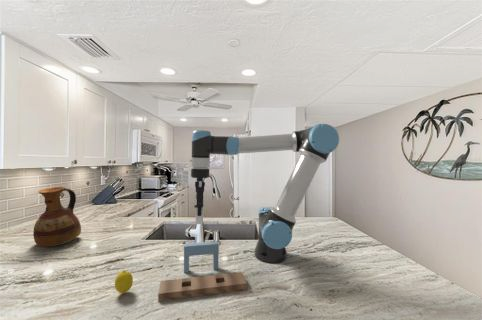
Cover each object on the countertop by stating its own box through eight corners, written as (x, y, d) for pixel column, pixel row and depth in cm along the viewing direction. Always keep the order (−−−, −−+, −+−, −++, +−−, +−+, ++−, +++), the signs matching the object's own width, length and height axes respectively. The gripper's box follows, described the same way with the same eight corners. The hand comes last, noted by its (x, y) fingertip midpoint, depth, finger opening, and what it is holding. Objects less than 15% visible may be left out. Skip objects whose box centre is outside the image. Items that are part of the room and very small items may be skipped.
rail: (241, 278, 92) (241, 272, 92) (246, 290, 84) (247, 283, 84) (160, 287, 85) (160, 280, 85) (158, 301, 77) (158, 293, 77)
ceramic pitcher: (25, 246, 121) (24, 188, 120) (66, 234, 139) (66, 183, 139) (48, 252, 113) (47, 190, 113) (89, 238, 132) (88, 185, 131)
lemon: (119, 289, 84) (119, 267, 84) (135, 288, 84) (135, 266, 84) (111, 298, 78) (111, 275, 78) (129, 298, 79) (129, 274, 78)
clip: (217, 266, 101) (217, 241, 101) (218, 270, 98) (218, 243, 98) (184, 269, 98) (184, 243, 98) (183, 273, 95) (184, 246, 95)
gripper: (191, 165, 109) (190, 211, 110) (190, 170, 85) (188, 228, 85) (207, 166, 111) (206, 211, 111) (211, 170, 86) (209, 228, 87)
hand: (198, 218), depth 98 cm, fingers open, 13 cm apart
